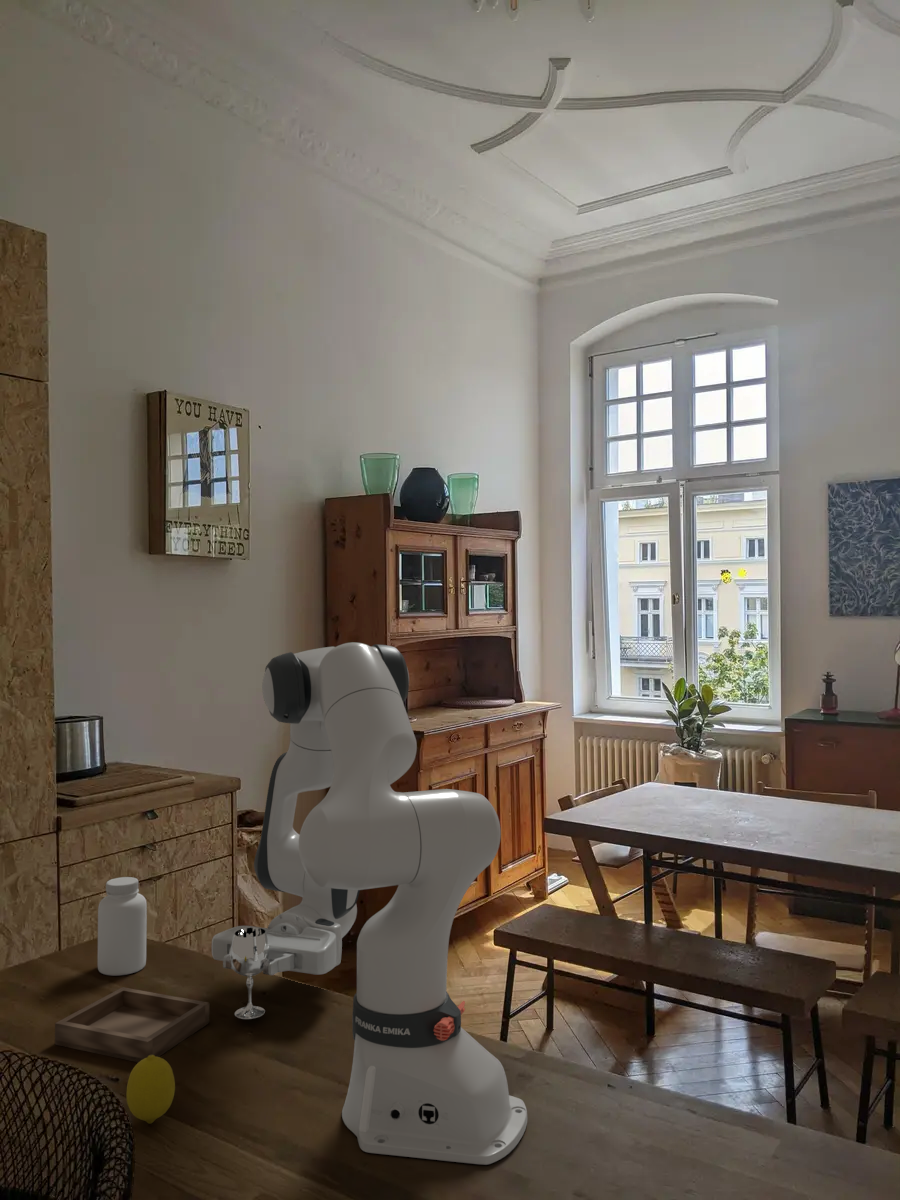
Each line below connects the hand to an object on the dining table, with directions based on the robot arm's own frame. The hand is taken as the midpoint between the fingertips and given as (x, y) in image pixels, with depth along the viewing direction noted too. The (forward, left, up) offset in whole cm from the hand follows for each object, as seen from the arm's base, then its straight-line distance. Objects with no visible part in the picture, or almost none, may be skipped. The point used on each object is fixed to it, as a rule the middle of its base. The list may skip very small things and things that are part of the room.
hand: (246, 966), depth 141 cm
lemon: (-5, +28, -9) cm, 30 cm away
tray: (+13, +9, -8) cm, 18 cm away
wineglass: (0, -1, -7) cm, 7 cm away
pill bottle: (+32, -11, -9) cm, 35 cm away
